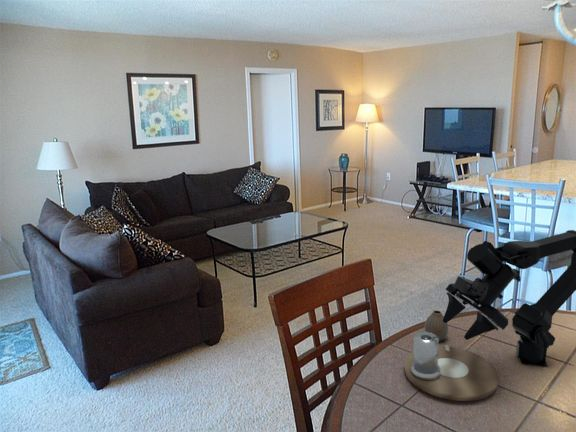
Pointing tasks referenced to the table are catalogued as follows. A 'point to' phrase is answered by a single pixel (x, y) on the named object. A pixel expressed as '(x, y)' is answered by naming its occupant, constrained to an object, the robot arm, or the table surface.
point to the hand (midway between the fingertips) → (454, 330)
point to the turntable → (458, 375)
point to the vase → (436, 325)
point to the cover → (425, 357)
